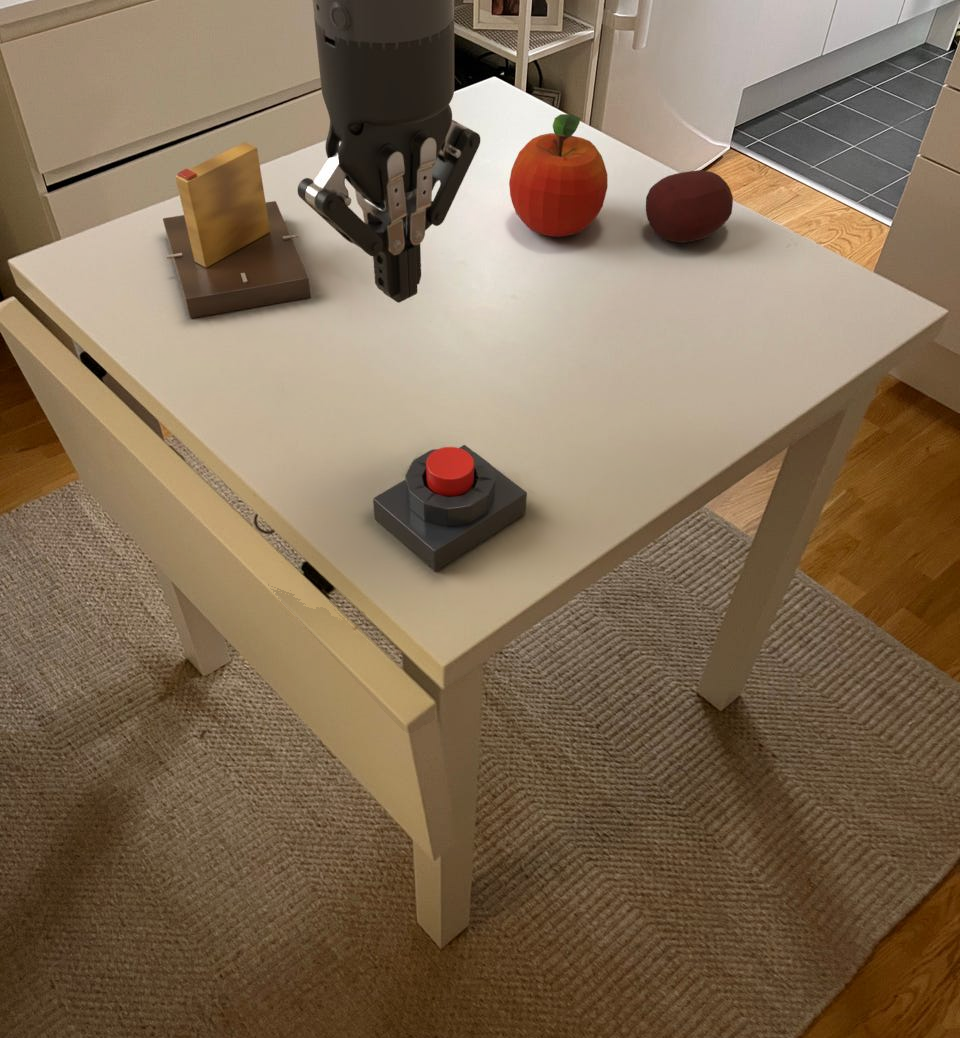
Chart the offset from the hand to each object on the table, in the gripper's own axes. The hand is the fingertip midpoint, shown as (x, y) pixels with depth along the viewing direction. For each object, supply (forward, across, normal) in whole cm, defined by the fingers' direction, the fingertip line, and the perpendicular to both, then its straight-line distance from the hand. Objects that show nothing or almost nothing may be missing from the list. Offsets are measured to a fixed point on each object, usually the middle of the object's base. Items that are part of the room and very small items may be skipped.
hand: (398, 293), depth 67 cm
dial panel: (+15, -5, -31) cm, 35 cm away
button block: (+15, +2, +7) cm, 16 cm away
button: (+11, +2, +7) cm, 13 cm away
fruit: (+15, -33, -16) cm, 40 cm away
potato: (+15, -42, -6) cm, 45 cm away
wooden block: (+13, -5, -31) cm, 34 cm away
